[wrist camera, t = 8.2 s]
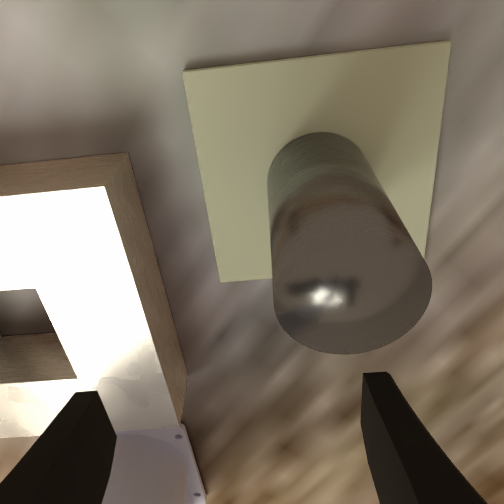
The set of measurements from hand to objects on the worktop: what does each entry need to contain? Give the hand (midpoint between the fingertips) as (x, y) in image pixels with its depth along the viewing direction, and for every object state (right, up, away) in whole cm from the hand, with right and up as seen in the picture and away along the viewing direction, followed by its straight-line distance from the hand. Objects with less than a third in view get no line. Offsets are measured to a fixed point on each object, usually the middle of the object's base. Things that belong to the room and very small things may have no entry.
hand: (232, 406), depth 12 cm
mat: (+3, +8, +7) cm, 11 cm away
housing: (-11, +2, +11) cm, 16 cm away
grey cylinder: (+3, +7, +7) cm, 11 cm away
